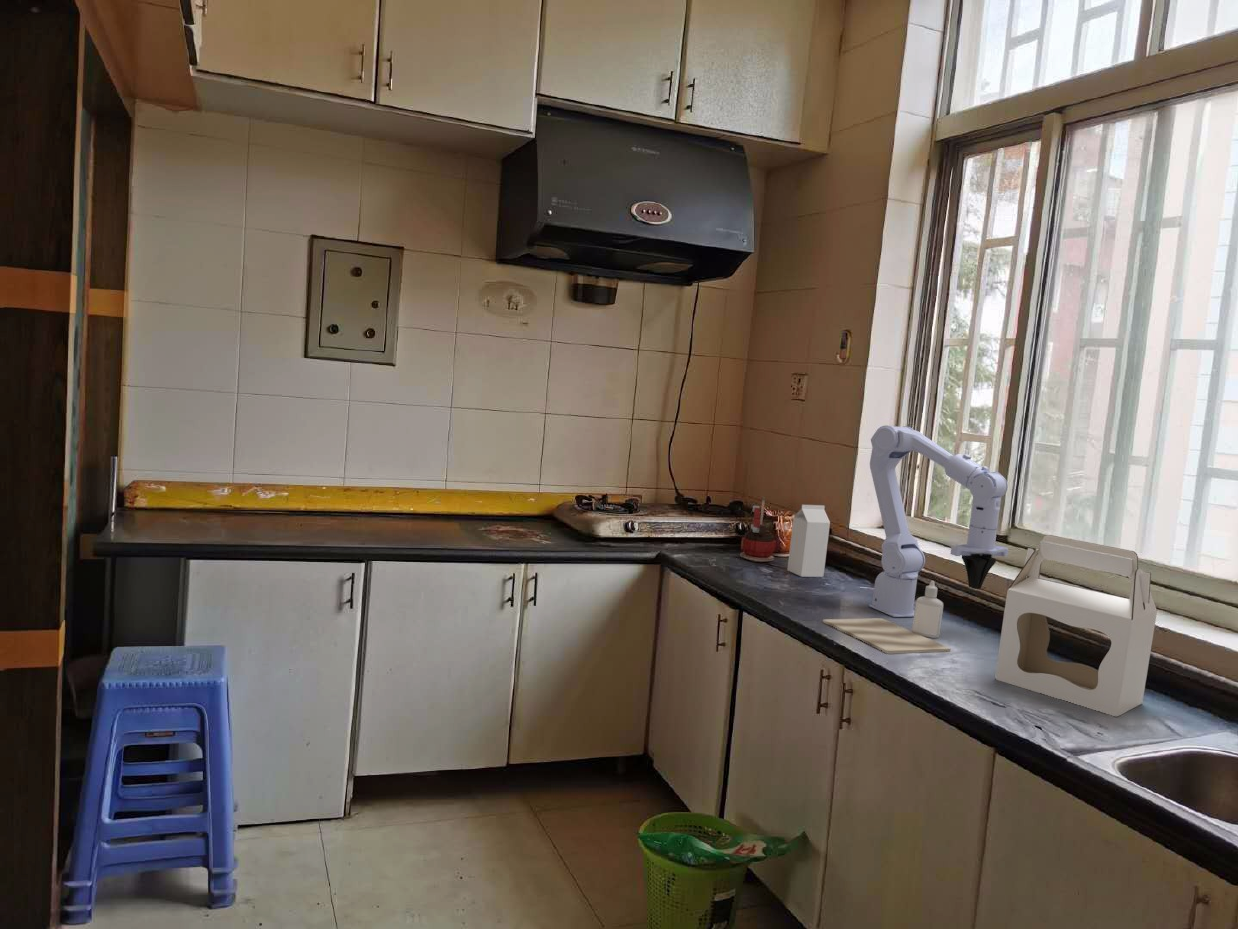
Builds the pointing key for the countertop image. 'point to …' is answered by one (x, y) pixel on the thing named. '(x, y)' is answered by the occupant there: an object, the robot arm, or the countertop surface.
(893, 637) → the birch board
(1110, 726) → the countertop surface
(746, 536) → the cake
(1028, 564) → the gable box
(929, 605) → the eye dropper bottle
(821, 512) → the milk carton
